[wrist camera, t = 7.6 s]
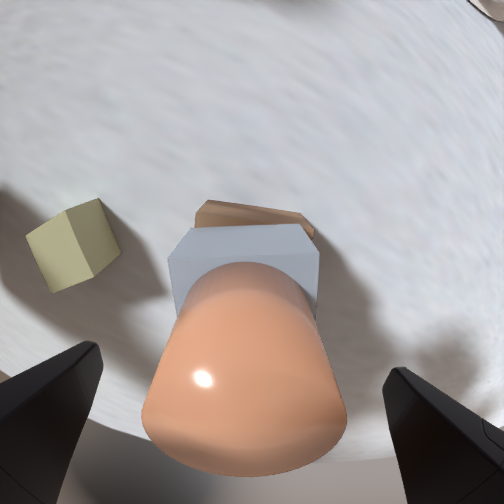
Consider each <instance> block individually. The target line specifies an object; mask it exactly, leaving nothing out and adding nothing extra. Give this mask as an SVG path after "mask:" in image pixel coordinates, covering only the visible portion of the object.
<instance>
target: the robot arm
mask: <svg viewBox="0 0 504 504" xmlns="http://www.w3.org/2000/svg"><path fill="white" fill-rule="evenodd" d="M102 372H103V360H102V357H101V353H100V348H99V346H98V344H97V343H94V342H91V341H83V342H81V343H79V344H77V345H75V346H73V347H71V348H70V349H68V350H66V351H64V352H62V353H60V354H58V355H56V356H54V357H52V358H50V359H48V360H46V361H44V362H42V363H40V364H38V365H36V366H34V367H32V368H30V369H28V370H26V371H24V372H22V373H20V374H18V375H16V376H14V377H12V378H10V379H8V380H6V381H4V382H2V383H0V504H56V502H57V499H58V496H59V493H60V490H61V487H62V483H63V481H64V478H65V475H66V472H67V469H68V466H69V463H70V461H71V458H72V455H73V452H74V450H75V447H76V444H77V442H78V439H79V437H80V434H81V432H82V429H83V427H84V424H85V422H86V420H87V417H88V415H89V412H90V410H91V407H92V404H93V400H94V397H95V394H96V390H97V387H98V384H99V381H100V378H101V375H102ZM382 393H383V398H384V403H385V409H386V414H387V420H388V425H389V430H390V434H391V438H392V442H393V445H394V449H395V453H396V457H397V460H398V464H399V468H400V472H401V477H402V481H403V485H404V490H405V494H406V499H407V503H408V504H504V431H502V430H501V429H499V428H497V427H496V426H494V425H492V424H491V423H489V422H488V421H486V420H484V419H483V418H481V417H480V416H478V415H477V414H475V413H474V412H472V411H471V410H469V409H468V408H466V407H465V406H463V405H461V404H460V403H458V402H457V401H455V400H454V399H452V398H451V397H449V396H448V395H446V394H445V393H443V392H442V391H440V390H439V389H437V388H436V387H434V386H433V385H431V384H430V383H428V382H427V381H425V380H424V379H422V378H421V377H419V376H418V375H416V374H415V373H413V372H412V371H410V370H409V369H407V368H406V367H395V368H393V369H392V370H391V371H390V373H389V375H388V377H387V379H386V381H385V383H384V385H383V389H382Z"/></svg>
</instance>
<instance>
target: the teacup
mask: <svg viewBox="0 0 504 504" xmlns="http://www.w3.org/2000/svg"><path fill="white" fill-rule="evenodd" d="M470 1H471V2H472V3H473V4H474V5H475V6H476V7H477V8H478V9H480V10H481V11H482V12H483V13H485V14H486V15H488V16H489V17H491V18H493V19H495V20H497V21H504V0H470Z"/></svg>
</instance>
